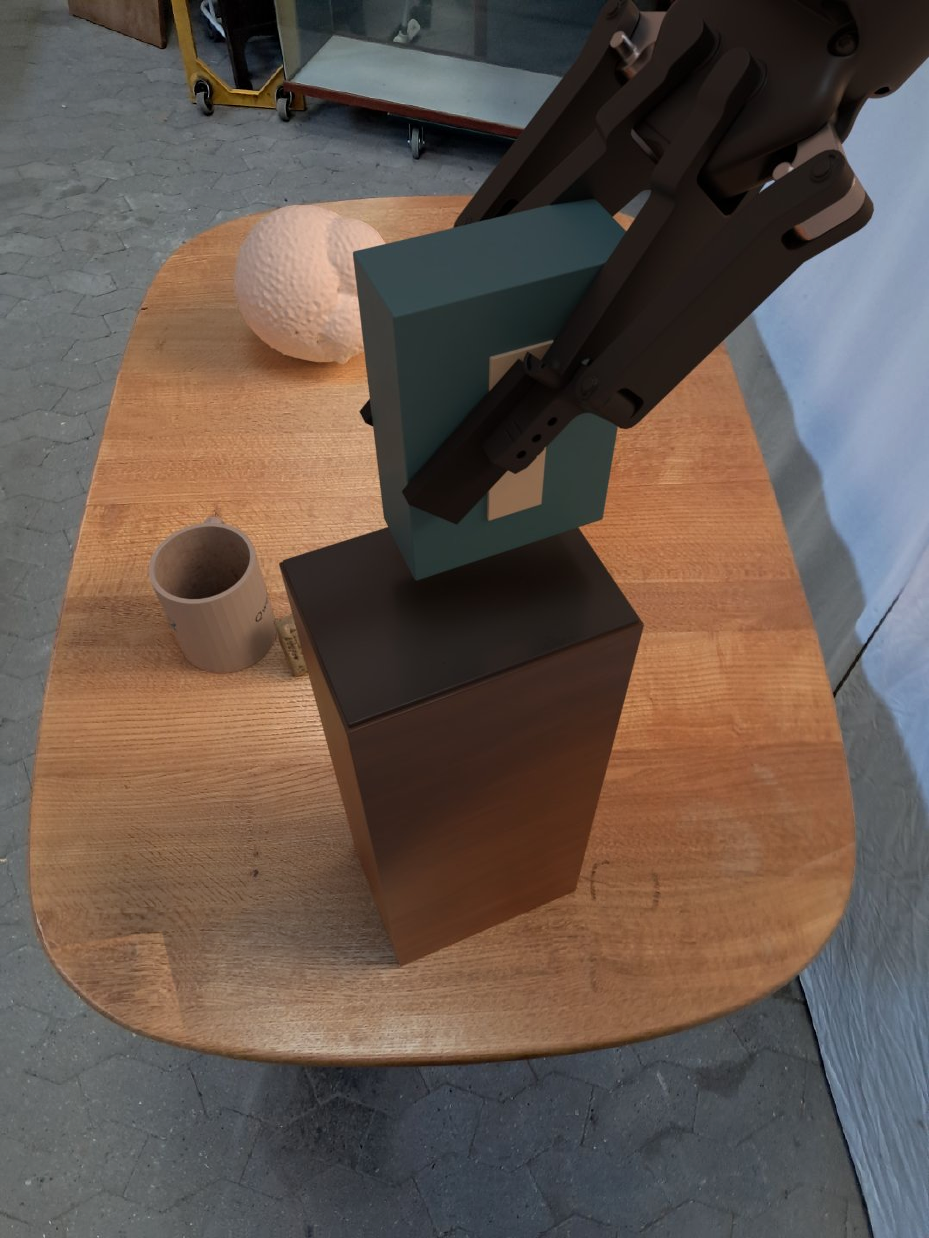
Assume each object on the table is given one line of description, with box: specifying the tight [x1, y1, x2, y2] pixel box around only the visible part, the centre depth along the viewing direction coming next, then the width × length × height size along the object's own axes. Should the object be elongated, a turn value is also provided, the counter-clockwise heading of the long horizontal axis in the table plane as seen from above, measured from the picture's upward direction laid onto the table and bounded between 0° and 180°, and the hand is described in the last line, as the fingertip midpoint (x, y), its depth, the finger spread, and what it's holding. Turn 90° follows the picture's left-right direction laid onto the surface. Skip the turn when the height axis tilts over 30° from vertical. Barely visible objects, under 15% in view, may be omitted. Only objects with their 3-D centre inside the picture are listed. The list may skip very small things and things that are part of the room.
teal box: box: [353, 199, 627, 580], centre depth 35 cm, size 4×9×13 cm, turn 113°
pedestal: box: [278, 526, 645, 967], centre depth 55 cm, size 10×14×34 cm
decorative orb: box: [232, 204, 387, 365], centre depth 100 cm, size 20×18×16 cm
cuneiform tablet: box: [274, 613, 308, 677], centre depth 78 cm, size 7×4×12 cm
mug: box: [148, 515, 277, 674], centre depth 79 cm, size 12×9×10 cm
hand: (408, 466), depth 36 cm, fingers closed on teal box, 4 cm apart
